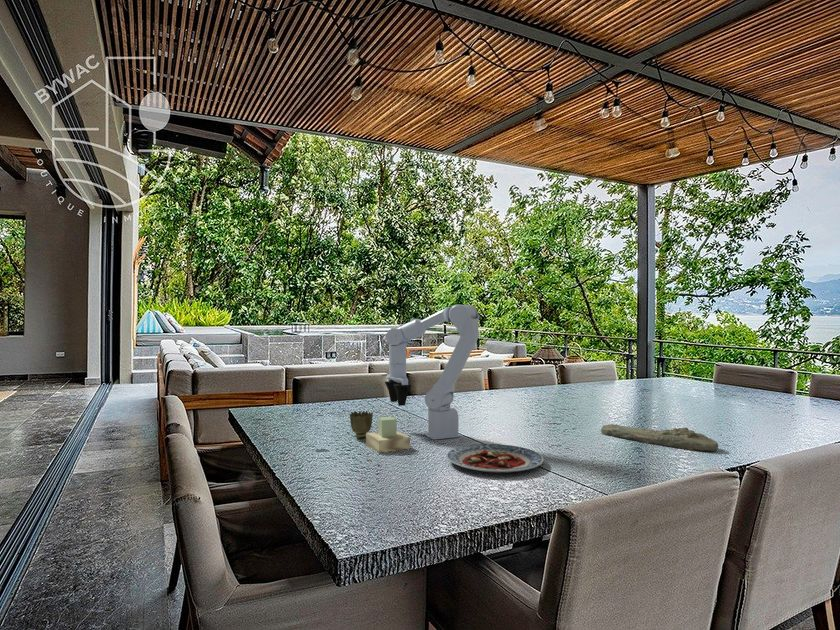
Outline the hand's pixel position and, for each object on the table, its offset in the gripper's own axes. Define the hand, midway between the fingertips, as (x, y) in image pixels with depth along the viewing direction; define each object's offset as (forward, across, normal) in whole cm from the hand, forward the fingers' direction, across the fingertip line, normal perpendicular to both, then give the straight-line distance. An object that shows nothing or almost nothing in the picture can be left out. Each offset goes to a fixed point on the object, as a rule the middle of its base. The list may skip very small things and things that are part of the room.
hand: (397, 403), depth 179 cm
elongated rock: (+10, +44, +70) cm, 83 cm away
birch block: (+10, +18, -10) cm, 23 cm away
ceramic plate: (+10, +45, +11) cm, 47 cm away
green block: (+6, +18, -10) cm, 21 cm away
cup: (+10, +4, -14) cm, 17 cm away
